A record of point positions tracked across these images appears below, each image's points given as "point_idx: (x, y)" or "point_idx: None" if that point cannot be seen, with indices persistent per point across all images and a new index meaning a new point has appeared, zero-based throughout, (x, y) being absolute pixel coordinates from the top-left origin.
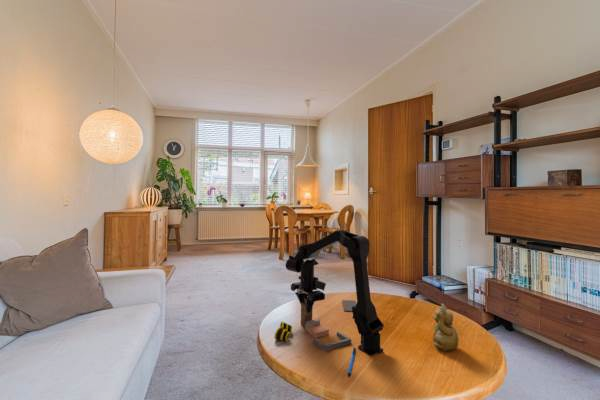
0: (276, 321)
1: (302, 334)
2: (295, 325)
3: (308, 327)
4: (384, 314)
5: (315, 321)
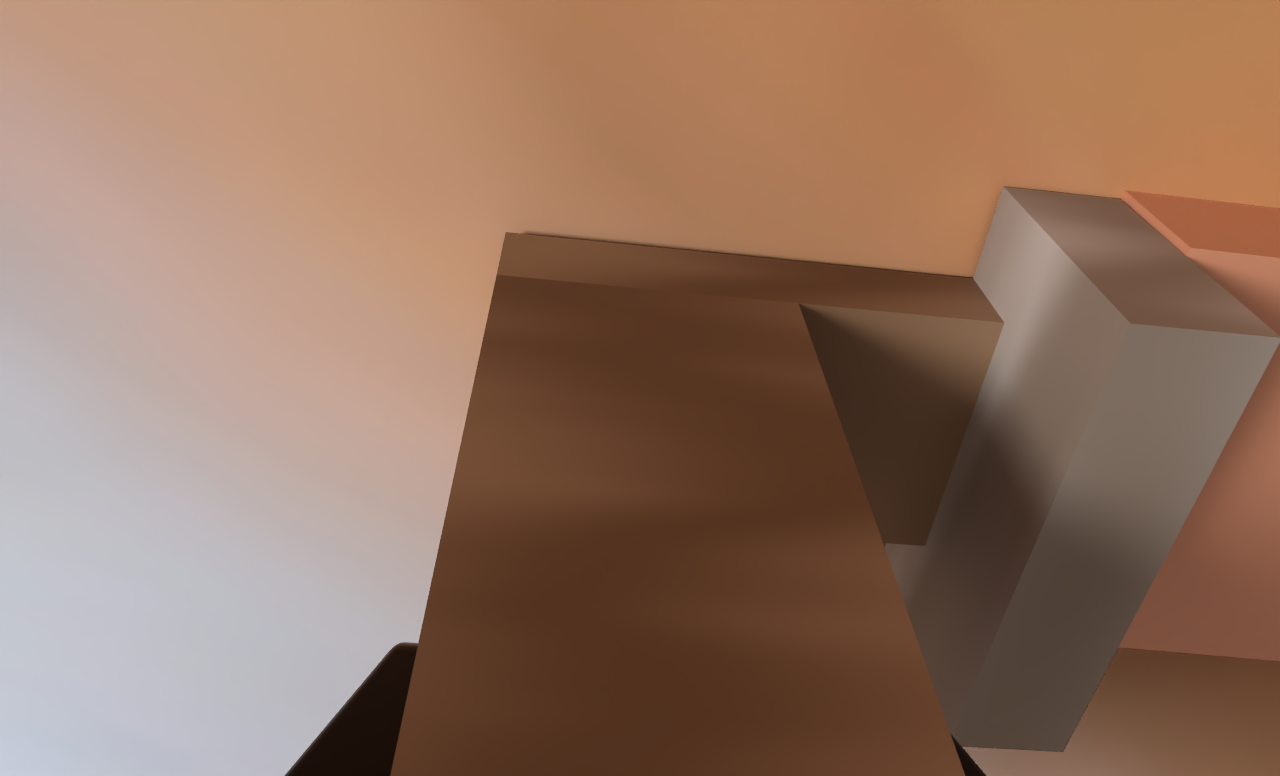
0: (56, 760)
1: None
2: None
3: None
4: None
5: (1174, 508)
